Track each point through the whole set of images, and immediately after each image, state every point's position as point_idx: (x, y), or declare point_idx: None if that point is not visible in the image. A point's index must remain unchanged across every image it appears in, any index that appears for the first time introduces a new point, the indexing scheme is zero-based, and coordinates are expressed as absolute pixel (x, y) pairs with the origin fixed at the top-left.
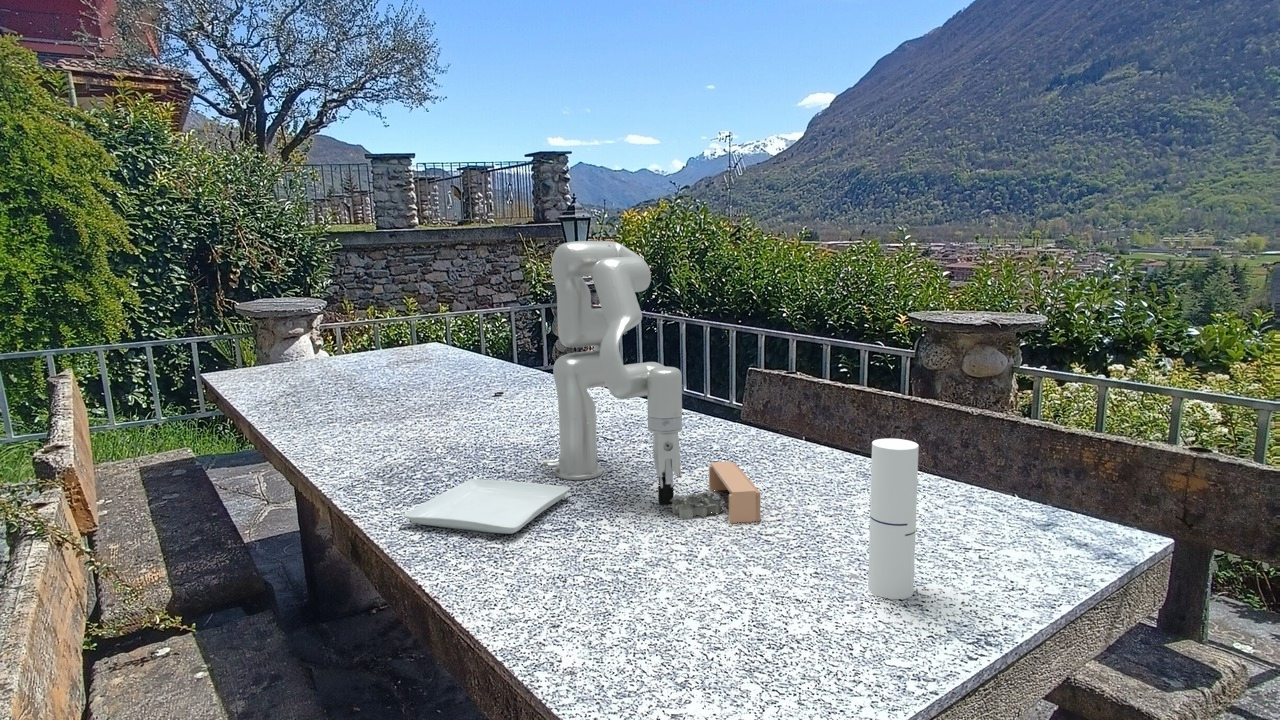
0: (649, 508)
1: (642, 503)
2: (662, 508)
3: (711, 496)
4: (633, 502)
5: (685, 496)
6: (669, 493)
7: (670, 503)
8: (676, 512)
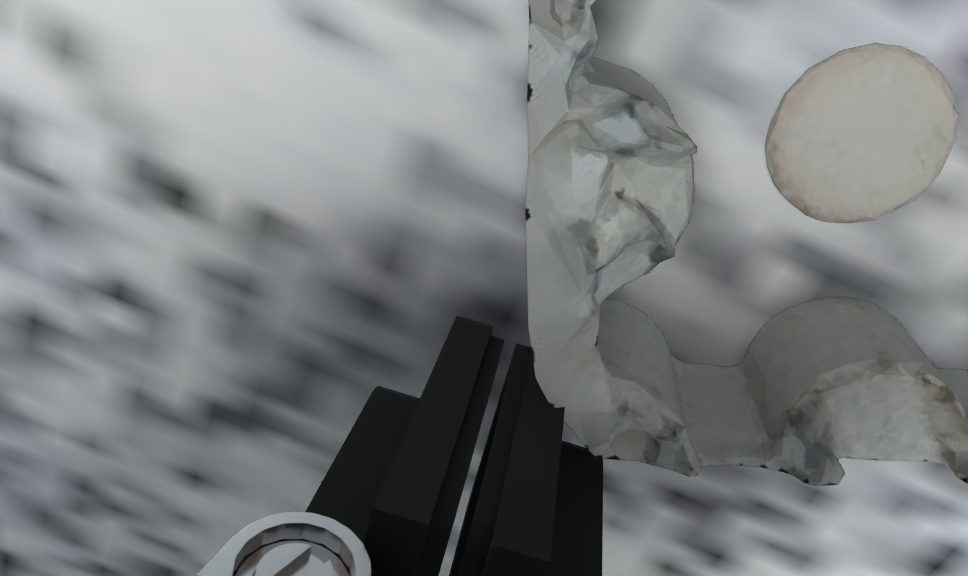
0: None
1: (227, 517)
2: None
3: None
4: (175, 573)
5: (544, 135)
6: (596, 565)
7: None
8: (759, 348)
